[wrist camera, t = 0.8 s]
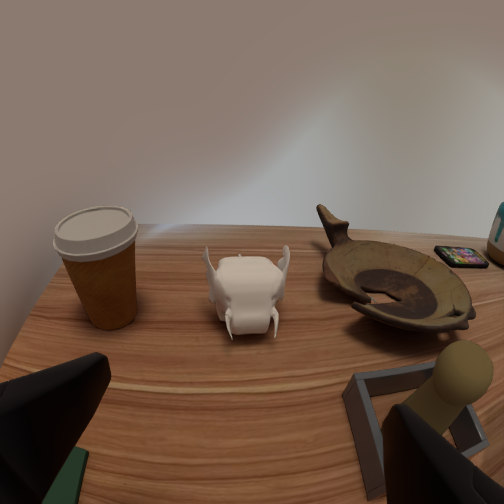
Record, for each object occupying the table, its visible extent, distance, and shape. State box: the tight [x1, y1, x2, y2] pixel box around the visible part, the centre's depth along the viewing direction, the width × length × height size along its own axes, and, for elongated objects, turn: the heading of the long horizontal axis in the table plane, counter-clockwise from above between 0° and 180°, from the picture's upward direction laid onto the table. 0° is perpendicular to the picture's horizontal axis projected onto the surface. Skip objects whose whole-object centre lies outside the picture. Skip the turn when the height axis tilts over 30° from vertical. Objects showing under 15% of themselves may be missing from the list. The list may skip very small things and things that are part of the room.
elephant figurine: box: [202, 245, 290, 338], centre depth 31 cm, size 10×12×9 cm
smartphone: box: [434, 246, 489, 267], centre depth 51 cm, size 8×1×15 cm
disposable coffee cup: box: [53, 206, 138, 330], centre depth 28 cm, size 10×10×12 cm
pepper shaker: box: [381, 340, 494, 437], centre depth 16 cm, size 6×6×11 cm
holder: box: [342, 361, 490, 501], centre depth 18 cm, size 12×12×4 cm
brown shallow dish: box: [316, 204, 476, 333], centre depth 38 cm, size 22×30×8 cm
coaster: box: [42, 446, 89, 504], centre depth 11 cm, size 9×9×1 cm
